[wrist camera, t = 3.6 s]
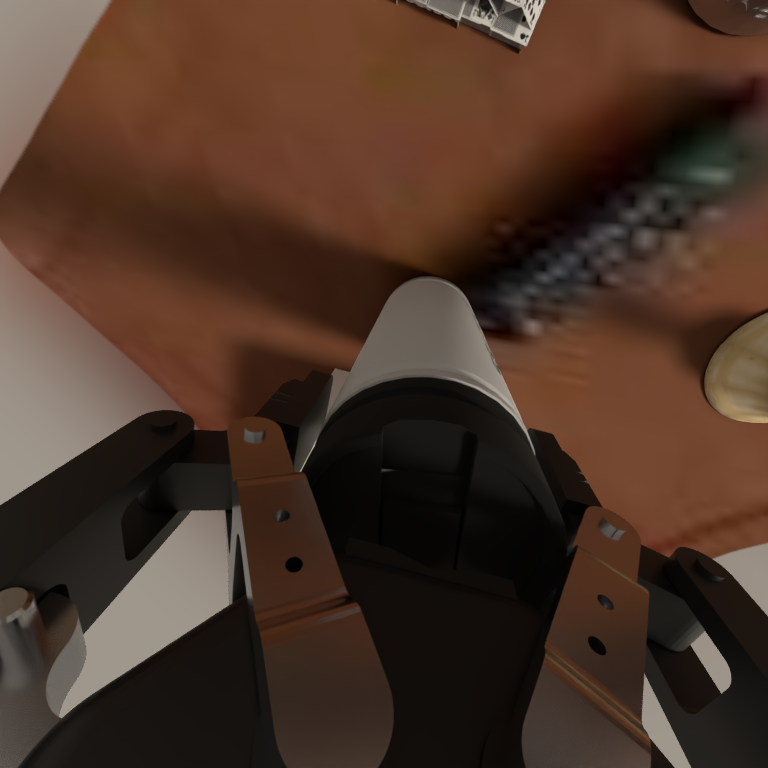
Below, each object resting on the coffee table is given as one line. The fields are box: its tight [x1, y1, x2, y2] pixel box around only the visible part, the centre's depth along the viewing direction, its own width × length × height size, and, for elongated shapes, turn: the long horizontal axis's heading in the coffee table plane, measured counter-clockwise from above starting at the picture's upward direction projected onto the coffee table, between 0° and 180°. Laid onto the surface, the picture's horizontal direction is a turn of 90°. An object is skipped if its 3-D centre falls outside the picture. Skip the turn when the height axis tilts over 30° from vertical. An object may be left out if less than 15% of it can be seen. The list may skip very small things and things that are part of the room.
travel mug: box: [301, 276, 568, 607], centre depth 16 cm, size 6×7×20 cm
